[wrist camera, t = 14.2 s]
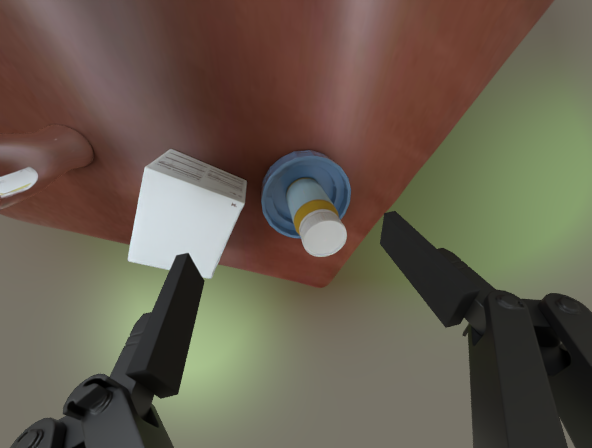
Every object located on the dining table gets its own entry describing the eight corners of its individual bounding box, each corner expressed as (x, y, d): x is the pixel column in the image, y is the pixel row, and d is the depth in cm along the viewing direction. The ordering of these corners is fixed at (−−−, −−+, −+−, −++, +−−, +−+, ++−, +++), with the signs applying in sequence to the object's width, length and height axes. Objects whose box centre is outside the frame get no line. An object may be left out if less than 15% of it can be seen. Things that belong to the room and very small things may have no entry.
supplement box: (168, 146, 33) (143, 164, 26) (247, 179, 38) (246, 203, 31) (149, 229, 40) (124, 262, 33) (218, 247, 45) (211, 281, 38)
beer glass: (88, 178, 34) (-7, 231, 22) (31, 149, 31) (-120, 192, 18) (105, 144, 32) (10, 180, 19) (45, 109, 29) (-114, 126, 16)
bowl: (245, 171, 38) (244, 181, 34) (329, 134, 37) (338, 139, 33) (281, 236, 47) (283, 249, 43) (349, 208, 46) (358, 218, 42)
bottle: (312, 213, 44) (335, 262, 31) (280, 204, 41) (292, 254, 29) (326, 182, 41) (359, 224, 28) (293, 171, 38) (313, 211, 26)
